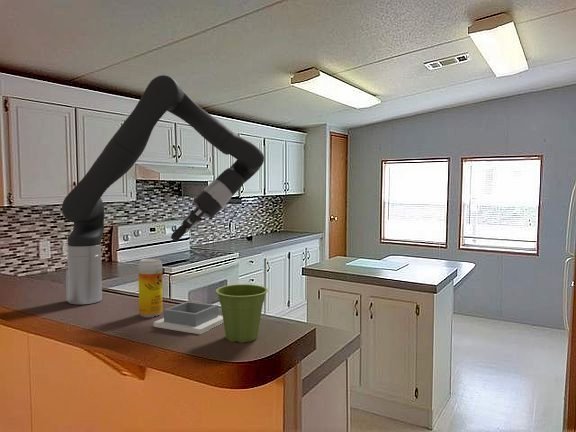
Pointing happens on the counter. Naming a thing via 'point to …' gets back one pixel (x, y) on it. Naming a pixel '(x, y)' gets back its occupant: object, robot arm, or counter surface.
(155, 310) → the beer can
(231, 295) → the plant pot
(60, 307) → the counter surface
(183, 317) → the dock
